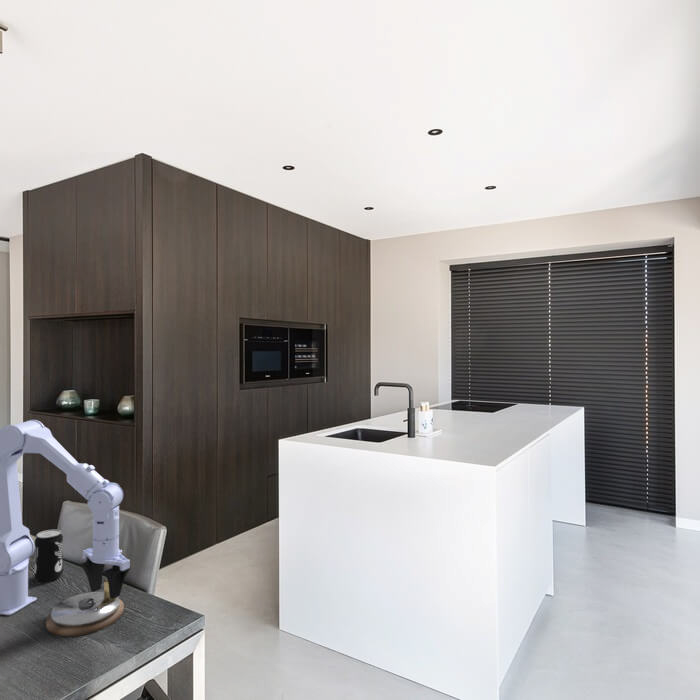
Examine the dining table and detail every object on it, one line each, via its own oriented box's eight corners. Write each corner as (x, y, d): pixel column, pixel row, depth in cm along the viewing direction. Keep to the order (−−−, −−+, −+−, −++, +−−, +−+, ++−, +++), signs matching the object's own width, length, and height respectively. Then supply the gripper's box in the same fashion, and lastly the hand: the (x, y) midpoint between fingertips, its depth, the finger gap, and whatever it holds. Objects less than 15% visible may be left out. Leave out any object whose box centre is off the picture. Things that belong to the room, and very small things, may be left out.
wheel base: (28, 630, 114) (28, 612, 114) (85, 593, 131) (85, 577, 131) (91, 640, 110) (92, 621, 110) (142, 600, 127) (142, 584, 127)
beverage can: (49, 584, 136) (50, 538, 136) (28, 581, 137) (28, 536, 137) (68, 573, 142) (68, 529, 142) (47, 571, 143) (47, 528, 143)
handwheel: (57, 634, 110) (57, 607, 110) (46, 608, 121) (46, 583, 121) (126, 613, 119) (127, 589, 119) (110, 591, 130) (110, 568, 130)
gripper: (140, 536, 124) (140, 593, 124) (101, 526, 131) (100, 580, 131) (114, 546, 118) (114, 606, 118) (74, 535, 125) (74, 591, 125)
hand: (105, 593), depth 124 cm, fingers open, 6 cm apart
